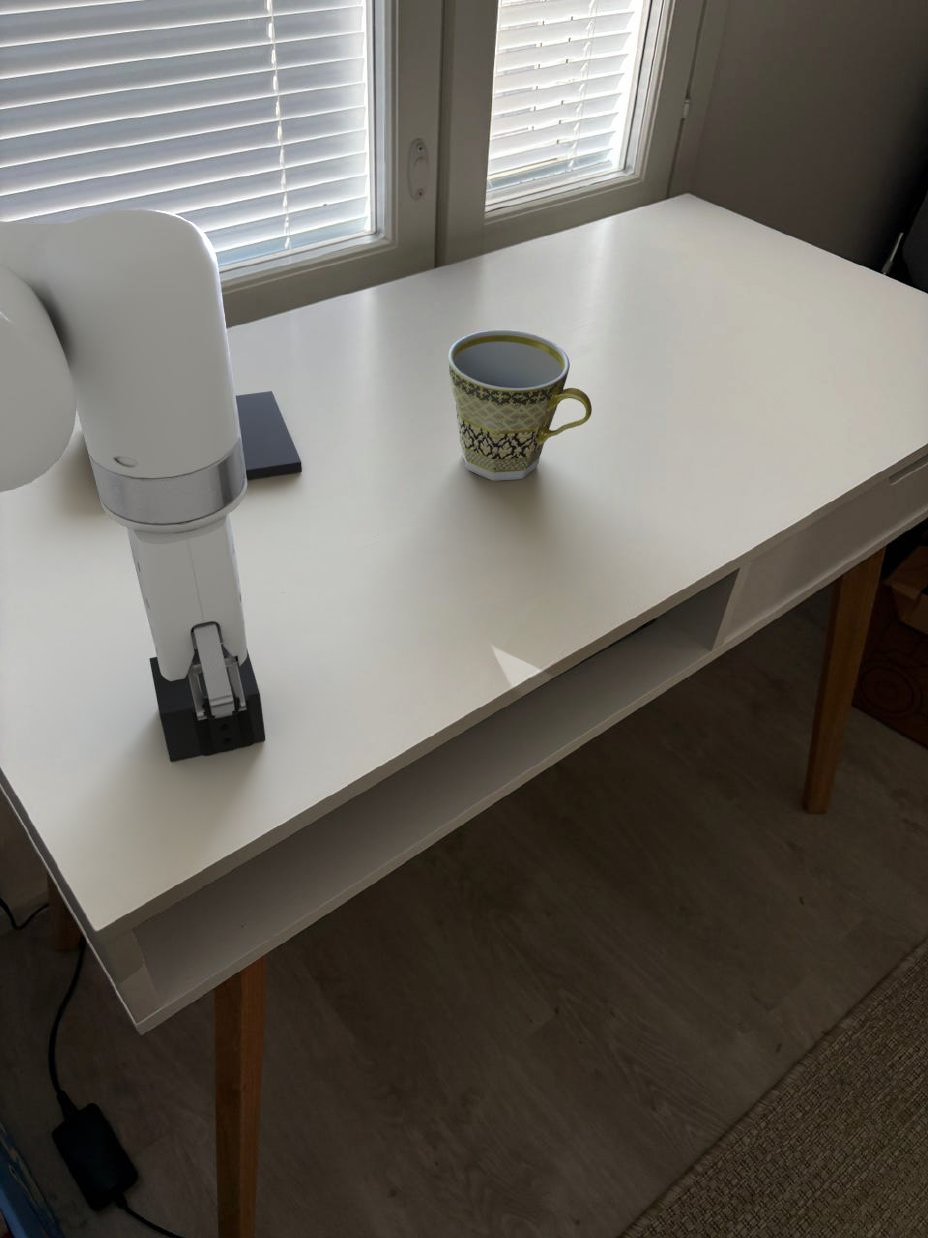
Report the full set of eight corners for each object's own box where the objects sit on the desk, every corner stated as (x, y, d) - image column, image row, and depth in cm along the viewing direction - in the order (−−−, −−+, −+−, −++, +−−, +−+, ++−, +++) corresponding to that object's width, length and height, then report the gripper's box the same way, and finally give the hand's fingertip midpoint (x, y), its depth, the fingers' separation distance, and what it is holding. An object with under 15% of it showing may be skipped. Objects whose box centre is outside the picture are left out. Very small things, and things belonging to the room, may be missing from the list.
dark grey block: (170, 762, 63) (159, 715, 60) (159, 705, 67) (149, 657, 63) (265, 741, 65) (260, 693, 62) (250, 686, 68) (244, 638, 65)
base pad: (100, 502, 82) (95, 482, 81) (87, 424, 90) (83, 404, 89) (302, 471, 87) (300, 451, 85) (272, 400, 95) (271, 381, 93)
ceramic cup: (420, 464, 88) (424, 361, 81) (482, 416, 95) (491, 317, 88) (548, 521, 83) (563, 416, 77) (604, 466, 90) (623, 365, 83)
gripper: (80, 391, 57) (136, 612, 69) (112, 587, 45) (173, 813, 57) (214, 372, 59) (247, 590, 71) (278, 556, 47) (304, 780, 59)
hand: (214, 690), depth 64 cm, fingers open, 9 cm apart
